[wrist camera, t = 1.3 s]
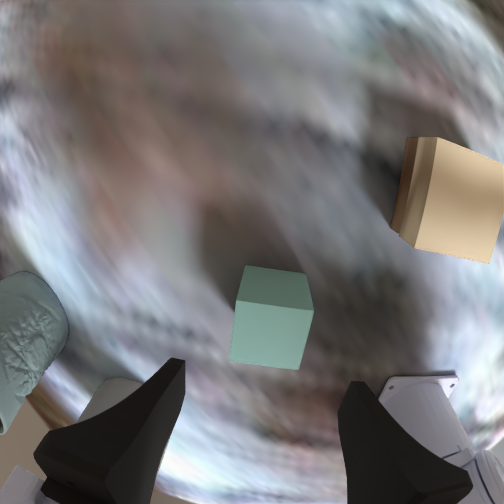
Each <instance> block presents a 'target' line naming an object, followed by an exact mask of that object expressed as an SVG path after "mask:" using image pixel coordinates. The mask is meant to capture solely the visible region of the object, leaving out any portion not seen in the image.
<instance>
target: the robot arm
mask: <svg viewBox="0 0 504 504" xmlns="http://www.w3.org/2000/svg"><path fill="white" fill-rule="evenodd" d="M458 380H459V378H458V376H457V375H452V376H423V377H391V378H390V379H388V381H387V383H386V385H385V387H384V389H383V391H382V393H381V395H380V397H379V399H377V397H376V396H375V395H374V394H373V392H372V391H371V390H370V389H369V387H368V386H367V385H366V383H365V382H360V381H351V383H350V385H349V388H348V390H347V392H346V395H345V397H344V399H343V401H342V403H341V406H340V408H339V410H338V427H339V435H340V441H341V446H342V451H343V457H344V462H345V468H346V475H347V504H504V468H503V466H502V464H501V463H500V461H499V460H498V458H497V457H496V455H495V454H494V453H493V452H492V451H491V450H484V449H482V450H480V451H479V452H478V453H476V452H475V451H474V449H473V447H472V445H471V442H470V440H469V438H468V436H467V434H466V432H465V430H464V428H463V426H462V424H461V422H460V420H459V419H458V417H457V415H456V413H455V411H454V409H453V407H452V405H451V403H450V402H449V400H448V397H449V396H450V394H451V392H452V391H453V389H454V387H455V386H456V384H457V382H458ZM390 386H391V387H390ZM184 396H185V360H180V359H176V358H170V359H169V360H168V361H167V362H166V363H165V364H164V365H163V366H162V367H161V368H160V369H159V370H158V371H157V372H156V373H155V374H154V375H153V376H152V377H151V378H150V379H148V380H147V381H146V382H145V383H144V384H143V385H142V386H140V387H139V388H138V389H137V390H135V391H134V392H133V393H131V394H130V395H129V396H127V397H126V398H125V399H123V400H122V401H120V402H119V403H117V404H116V405H114V406H112V407H111V408H109V409H107V410H105V411H103V412H101V413H100V414H98V415H96V416H93V417H91V418H89V419H86V420H84V421H81V422H79V423H76V424H73V425H70V426H67V427H63V428H59V429H55V430H51V431H49V432H48V433H47V434H46V435H45V436H44V438H43V439H42V441H41V442H40V444H39V445H38V447H37V448H36V450H35V452H34V454H33V455H34V459H35V460H36V462H37V464H38V465H39V466H40V468H41V469H42V470H43V472H44V473H45V474H46V476H47V479H46V480H45V482H44V481H43V480H41V479H40V478H39V477H37V476H36V475H34V474H32V473H31V472H29V471H27V470H26V469H24V468H22V467H21V466H19V465H16V467H15V468H14V470H13V471H12V473H11V474H10V476H9V478H8V479H7V481H6V482H5V484H4V486H3V487H2V489H1V491H0V504H150V500H151V495H152V491H153V487H154V483H155V480H156V476H157V472H158V468H159V465H160V461H161V458H162V455H163V452H164V450H165V447H166V445H167V442H168V440H169V438H170V435H171V433H172V431H173V428H174V426H175V423H176V421H177V419H178V416H179V414H180V411H181V407H182V404H183V400H184Z"/></svg>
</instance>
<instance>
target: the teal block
mask: <svg viewBox="0 0 504 504" xmlns="http://www.w3.org/2000/svg"><path fill="white" fill-rule="evenodd" d="M313 314H314V307H313V303H312V298H311V294H310V289H309V285H308V280H307V276H306V274H305V273H297V272H290V271H283V270H276V269H270V268H263V267H256V266H249V265H245V268H244V272H243V276H242V280H241V284H240V288H239V291H238V295H237V299H236V306H235V315H234V323H233V331H232V340H231V348H230V357H229V361H233V362H240V363H246V364H253V365H261V366H268V367H276V368H285V369H294V370H299V366H300V363H301V359H302V356H303V352H304V348H305V345H306V341H307V337H308V333H309V330H310V326H311V322H312V318H313Z"/></svg>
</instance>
